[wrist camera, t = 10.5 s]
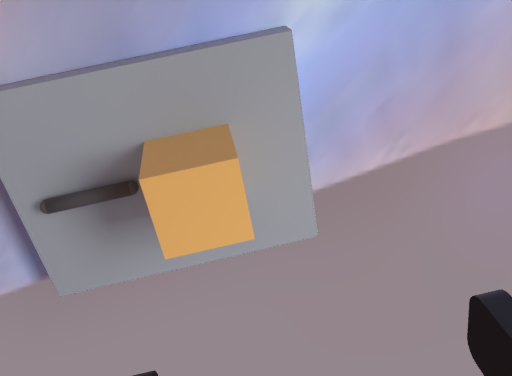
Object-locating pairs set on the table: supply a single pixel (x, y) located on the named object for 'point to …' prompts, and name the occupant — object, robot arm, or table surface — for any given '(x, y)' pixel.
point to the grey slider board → (131, 149)
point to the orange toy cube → (195, 191)
